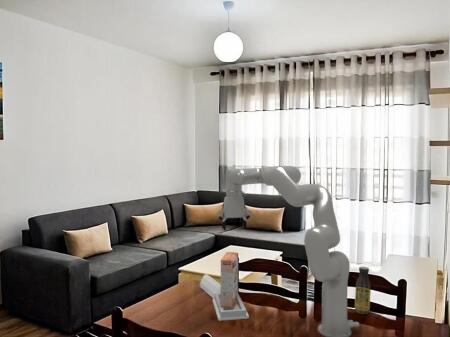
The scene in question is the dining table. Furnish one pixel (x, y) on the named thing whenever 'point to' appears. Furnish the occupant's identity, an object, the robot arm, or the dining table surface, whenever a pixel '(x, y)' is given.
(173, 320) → the dining table surface
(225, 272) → the cracker box
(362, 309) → the sauce bottle
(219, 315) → the grey rectangular tray
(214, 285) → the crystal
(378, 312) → the dining table surface
